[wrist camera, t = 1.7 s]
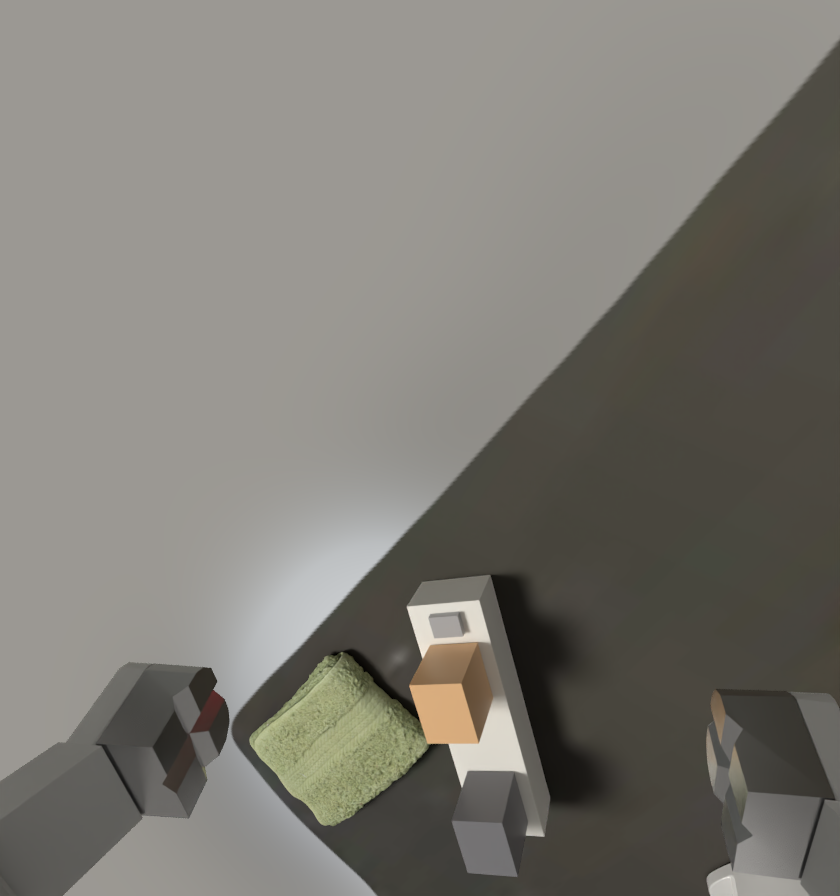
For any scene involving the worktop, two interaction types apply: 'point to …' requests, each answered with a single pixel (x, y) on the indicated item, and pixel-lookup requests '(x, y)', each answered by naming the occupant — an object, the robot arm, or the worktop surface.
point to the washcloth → (339, 740)
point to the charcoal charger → (490, 823)
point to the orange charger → (452, 694)
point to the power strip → (507, 726)
